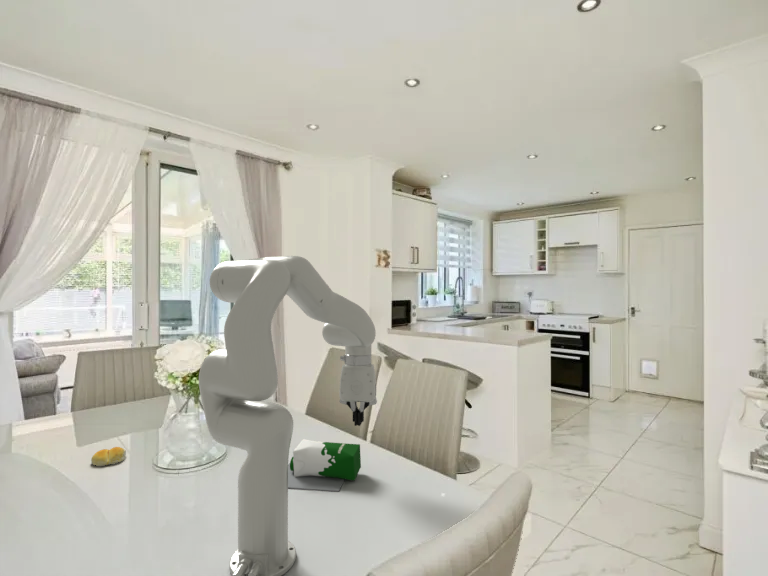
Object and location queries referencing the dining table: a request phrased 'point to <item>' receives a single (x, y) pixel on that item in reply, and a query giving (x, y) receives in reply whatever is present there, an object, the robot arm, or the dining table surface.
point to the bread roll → (108, 456)
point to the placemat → (313, 482)
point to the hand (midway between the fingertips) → (358, 424)
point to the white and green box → (326, 459)
